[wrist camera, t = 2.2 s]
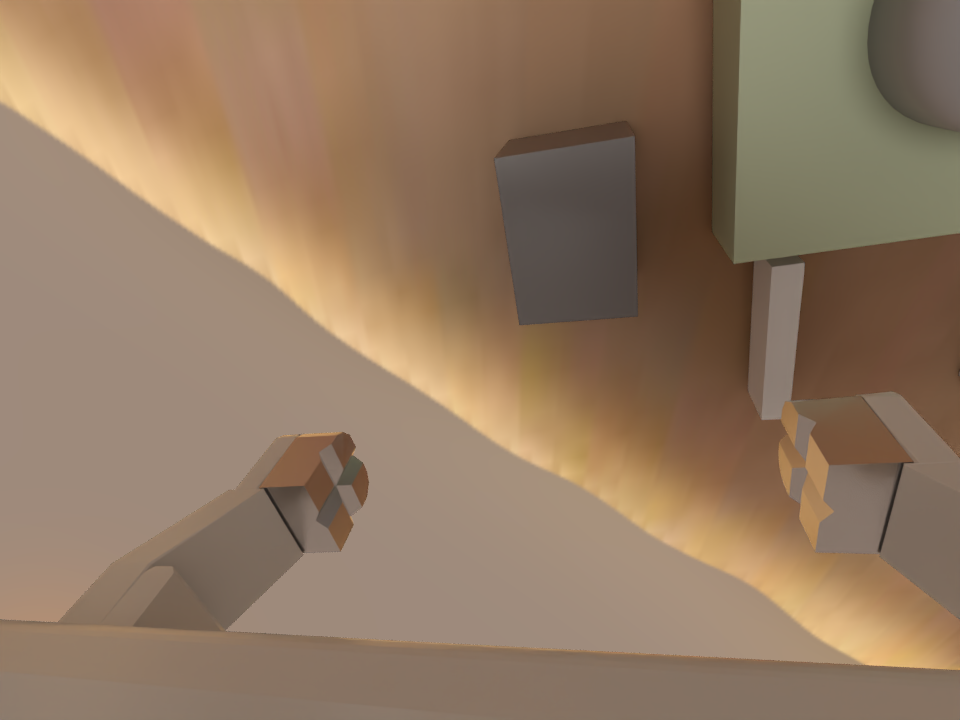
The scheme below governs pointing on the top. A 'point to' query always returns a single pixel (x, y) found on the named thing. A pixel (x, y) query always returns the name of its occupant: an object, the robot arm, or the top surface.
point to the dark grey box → (571, 223)
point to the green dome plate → (827, 146)
